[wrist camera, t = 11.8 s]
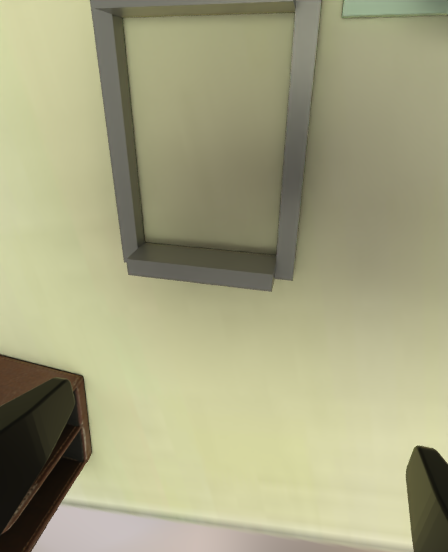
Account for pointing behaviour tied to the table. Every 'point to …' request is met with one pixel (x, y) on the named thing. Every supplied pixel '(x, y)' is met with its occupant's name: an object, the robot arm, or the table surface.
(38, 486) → the letter holder
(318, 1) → the rectangular frame
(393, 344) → the table surface
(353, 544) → the table surface
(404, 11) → the pad
